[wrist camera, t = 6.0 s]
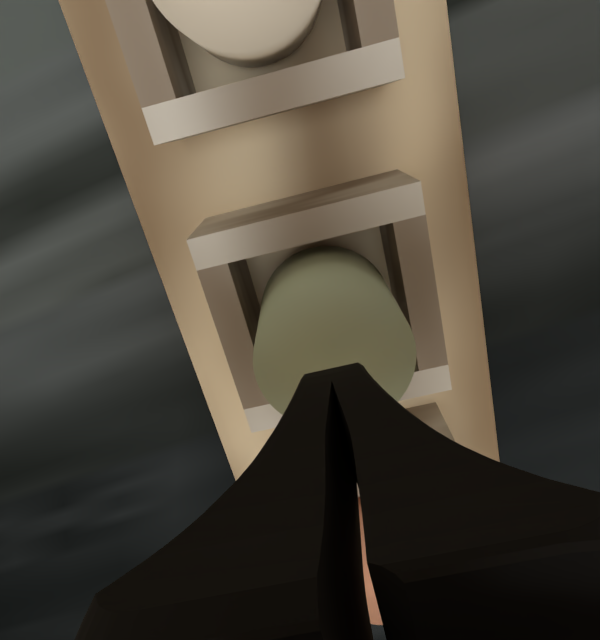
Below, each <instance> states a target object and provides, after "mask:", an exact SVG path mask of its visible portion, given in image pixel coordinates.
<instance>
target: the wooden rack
mask: <svg viewBox="0 0 600 640" xmlns="http://www.w3.org/2000/svg"><path fill="white" fill-rule="evenodd" d="M59 3H60V6H61V9H62V11H63V14H64V17H65V19H66V22H67V25H68V27H69V30H70V33H71V36H72V38H73V41H74V44H75V46H76V49H77V52H78V55H79V57H80V60H81V63H82V65H83V68H84V71H85V74H86V76H87V79H88V82H89V84H90V87H91V90H92V92H93V95H94V98H95V101H96V103H97V106H98V109H99V111H100V114H101V117H102V120H103V122H104V125H105V128H106V130H107V133H108V136H109V139H110V141H111V144H112V147H113V149H114V152H115V155H116V157H117V160H118V163H119V166H120V168H121V171H122V174H123V176H124V179H125V182H126V185H127V187H128V190H129V193H130V195H131V198H132V201H133V204H134V206H135V209H136V212H137V214H138V217H139V220H140V222H141V225H142V228H143V231H144V233H145V236H146V239H147V241H148V244H149V247H150V250H151V252H152V255H153V258H154V260H155V263H156V266H157V269H158V271H159V274H160V277H161V279H162V282H163V285H164V287H165V290H166V293H167V296H168V298H169V301H170V304H171V306H172V309H173V312H174V315H175V317H176V320H177V323H178V325H179V328H180V331H181V333H182V336H183V339H184V342H185V344H186V347H187V350H188V352H189V355H190V358H191V361H192V363H193V366H194V369H195V371H196V374H197V377H198V380H199V382H200V385H201V388H202V390H203V393H204V396H205V398H206V401H207V404H208V407H209V409H210V412H211V415H212V417H213V420H214V423H215V426H216V428H217V431H218V434H219V436H220V439H221V442H222V445H223V447H224V450H225V453H226V455H227V458H228V461H229V463H230V466H231V469H232V472H233V474H234V477H235V480H237V479H238V478H239V477H240V476H241V475H242V473H243V472H244V471H245V470H246V469H247V468H248V466H249V465H250V464H251V463H252V461H253V460H254V459H255V457H256V456H257V455H258V453H259V452H260V450H261V449H262V447H263V446H264V444H265V443H266V441H267V440H268V438H269V437H270V435H271V434H272V432H273V431H274V429H275V428H276V426H277V424H278V422H279V421H280V419H281V417H282V414H280V413H279V412H278V411H277V410H276V409H274V408H273V407H272V406H271V405H270V403H269V402H268V401H267V400H266V398H265V397H264V395H263V394H262V392H261V390H260V388H259V386H258V384H257V381H256V378H255V374H254V369H253V350H254V344H255V338H256V333H257V327H258V321H259V315H260V310H261V304H262V298H263V293H264V290H265V287H266V284H267V282H268V280H269V279H270V277H271V275H272V274H273V272H274V271H275V270H276V269H277V268H278V267H279V265H280V264H281V263H283V262H284V261H285V260H286V259H288V258H289V257H291V256H292V255H294V254H296V253H298V252H300V251H302V250H305V249H309V248H312V247H318V246H337V247H342V248H346V249H349V250H352V251H354V252H356V253H358V254H360V255H362V256H363V257H365V258H366V259H368V260H369V261H370V262H371V263H372V264H373V265H374V266H375V267H376V268H377V269H378V271H379V272H380V273H381V275H382V277H383V278H384V280H385V282H386V284H387V286H388V287H389V289H390V291H391V293H392V295H393V296H394V298H395V300H396V302H397V304H398V305H399V307H400V309H401V311H402V313H403V314H404V316H405V318H406V320H407V322H408V324H409V325H410V328H411V330H412V333H413V336H414V339H415V343H416V365H415V371H414V374H413V377H412V380H411V382H410V384H409V386H408V388H407V390H406V392H405V393H404V395H403V396H402V398H401V399H400V400H399V401H398V403H399V404H401V405H402V406H403V407H404V408H405V409H407V410H408V411H409V412H410V413H412V414H413V415H414V416H416V417H417V418H419V419H420V420H421V421H423V422H424V423H425V424H427V425H428V426H430V427H431V428H433V429H434V430H436V431H437V432H439V433H441V434H442V435H444V436H446V437H447V438H449V439H451V440H453V441H455V442H456V443H458V444H460V445H462V446H464V447H466V448H469V449H471V450H473V451H475V452H477V453H480V454H482V455H484V456H486V457H488V458H491V459H493V460H496V461H498V462H500V461H499V453H498V444H497V435H496V427H495V418H494V410H493V401H492V392H491V384H490V375H489V366H488V358H487V349H486V340H485V332H484V323H483V314H482V306H481V297H480V288H479V280H478V271H477V262H476V254H475V245H474V237H473V228H472V219H471V211H470V202H469V193H468V185H467V176H466V167H465V159H464V150H463V141H462V133H461V124H460V115H459V107H458V98H457V89H456V81H455V72H454V64H453V55H452V46H451V38H450V29H449V20H448V12H447V3H446V0H322V1H321V5H320V9H319V12H318V15H317V18H316V20H315V23H314V25H313V27H312V29H311V31H310V32H309V34H308V35H307V37H306V38H305V40H304V41H303V42H302V43H301V44H300V46H299V47H297V48H296V49H295V50H294V51H293V52H292V53H291V54H289V55H288V56H287V57H285V58H283V59H281V60H280V61H278V62H275V63H273V64H270V65H267V66H262V67H250V68H249V67H239V66H235V65H231V64H228V63H226V62H223V61H221V60H219V59H218V58H216V57H214V56H212V55H211V54H210V53H208V52H207V51H206V50H204V49H203V48H202V47H200V46H199V45H198V44H196V43H195V42H194V41H192V40H191V39H190V38H188V37H187V36H186V35H184V34H183V33H182V32H180V31H179V30H178V29H176V28H175V27H174V26H173V25H172V24H171V23H170V22H169V21H168V20H167V19H166V18H165V17H164V15H163V14H162V13H161V12H160V11H159V9H158V8H157V7H156V5H155V4H154V2H153V1H152V0H59ZM357 491H358V497H360V494H359V488H358V484H357Z"/></svg>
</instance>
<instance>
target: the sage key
mask: <svg viewBox="0 0 600 640" xmlns="http://www.w3.org/2000/svg"><path fill="white" fill-rule="evenodd" d="M357 362H358V363H360V364H361V365H363V366H364V367H365V369H366V370H367V372H368V373H369V374H370V375H371V376H372V378H373V379H374V380H375V381H376V382H377V383H378V384H379V385H380V386H381V387H382V388H383V389H384V390H385V391H386V392H387V393H388V394H389V395H390V396H392V397H393V398H394V399H395V400H396V401H397V402H398V401H399V400H400V399H401V398H402V396H403V395H404V393H405V392H406V390H407V388H408V386H409V384H410V382H411V380H412V377H413V374H414V371H415V365H416V343H415V339H414V336H413V333H412V330H411V328H410V325H409V324H408V322H407V320H406V318H405V316H404V314H403V313H402V311H401V309H400V307H399V305H398V304H397V302H396V300H395V298H394V296H393V295H392V293H391V291H390V289H389V287H388V286H387V284H386V282H385V280H384V278H383V277H382V275H381V273H380V272H379V271H378V269H377V268H376V267H375V266H374V265H373V264H372V263H371V262H370V261H369V260H368V259H366V258H365V257H363V256H362V255H360V254H358V253H356V252H354V251H352V250H349V249H346V248H342V247H337V246H318V247H312V248H309V249H305V250H302V251H300V252H298V253H296V254H294V255H292V256H291V257H289V258H288V259H286V260H285V261H284V262H283V263H281V264H280V265H279V267H278V268H277V269H276V270H275V271H274V272H273V274H272V275H271V277H270V279H269V280H268V282H267V284H266V287H265V290H264V293H263V298H262V304H261V310H260V315H259V321H258V327H257V333H256V338H255V344H254V350H253V369H254V374H255V378H256V381H257V384H258V386H259V388H260V390H261V392H262V394H263V395H264V397H265V398H266V400H267V401H268V402H269V403H270V405H271V406H272V407H273V408H274V409H276V410H277V411H278V412H279V413H280V414H282V415H283V414H284V412H285V410H286V408H287V407H288V405H289V403H290V401H291V399H292V397H293V395H294V393H295V391H296V389H297V386H298V384H299V382H300V380H301V378H302V377H303V375H304V374H307V373H312V372H316V371H321V370H325V369H330V368H334V367H339V366H344V365H348V364H353V363H357Z"/></svg>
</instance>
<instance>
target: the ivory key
mask: <svg viewBox="0 0 600 640" xmlns="http://www.w3.org/2000/svg"><path fill="white" fill-rule="evenodd" d="M152 1H153V2H154V4H155V5H156V7H157V8H158V9H159V11H160V12H161V13H162V14H163V15H164V17H165V18H166V19H167V20H168V21H169V22H170V23H171V24H172V25H173V26H174V27H175V28H176V29H178V30H179V31H180V32H182V33H183V34H184V35H186V36H187V37H188V38H190V39H191V40H192V41H194V42H195V43H196V44H198V45H199V46H200V47H202V48H203V49H204V50H206V51H207V52H208V53H210V54H211V55H212V56H214V57H216V58H218V59H219V60H221V61H223V62H226V63H228V64H231V65H235V66H239V67H249V68H250V67H262V66H267V65H270V64H273V63H275V62H278V61H280V60H281V59H283V58H285V57H287V56H288V55H289V54H291V53H292V52H293V51H294V50H295V49H296V48H297V47H299V46H300V44H301V43H302V42H303V41H304V40H305V38H306V37H307V35H308V34H309V32H310V31H311V29H312V27H313V25H314V23H315V20H316V18H317V15H318V12H319V9H320V5H321V1H322V0H152Z"/></svg>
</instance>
